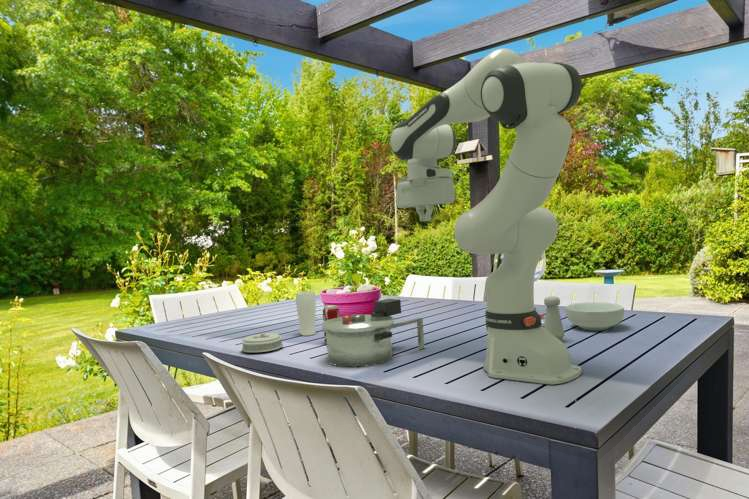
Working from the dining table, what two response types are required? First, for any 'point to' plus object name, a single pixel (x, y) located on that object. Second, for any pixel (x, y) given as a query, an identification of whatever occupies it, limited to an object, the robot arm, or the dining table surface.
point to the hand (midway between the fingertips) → (425, 221)
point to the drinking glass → (306, 312)
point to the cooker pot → (366, 345)
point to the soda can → (330, 315)
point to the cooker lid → (365, 319)
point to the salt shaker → (553, 317)
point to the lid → (262, 342)
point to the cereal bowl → (595, 315)
